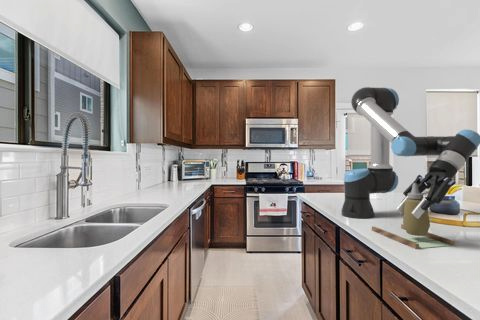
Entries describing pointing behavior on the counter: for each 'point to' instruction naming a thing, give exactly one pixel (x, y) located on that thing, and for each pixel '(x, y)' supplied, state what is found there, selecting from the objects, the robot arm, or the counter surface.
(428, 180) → the robot arm
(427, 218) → the squeeze bottle
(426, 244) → the pad
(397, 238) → the rail
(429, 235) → the rail
